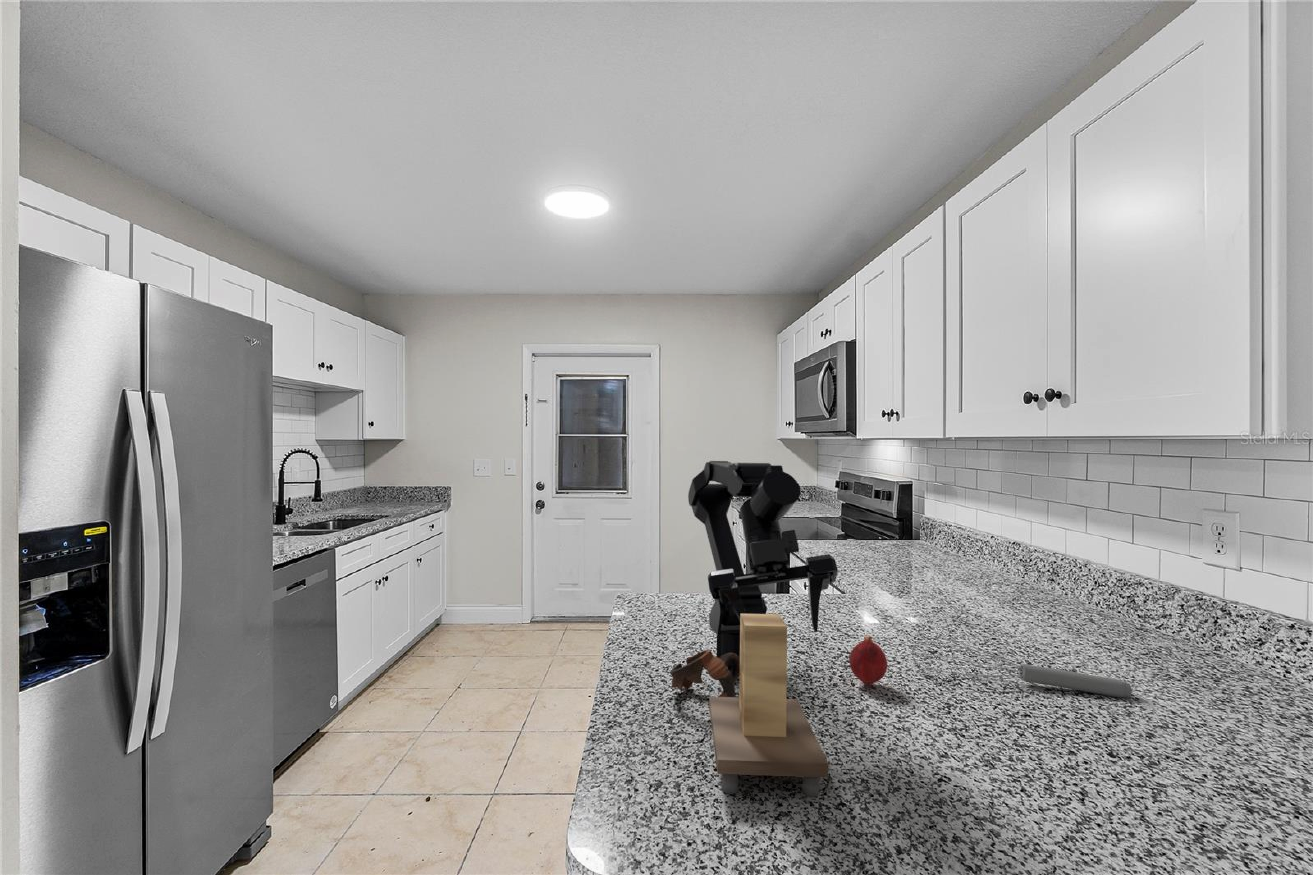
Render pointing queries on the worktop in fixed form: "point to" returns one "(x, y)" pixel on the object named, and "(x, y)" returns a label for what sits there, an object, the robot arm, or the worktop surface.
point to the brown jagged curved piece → (713, 666)
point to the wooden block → (763, 675)
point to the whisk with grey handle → (1047, 676)
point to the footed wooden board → (765, 748)
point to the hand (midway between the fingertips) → (783, 636)
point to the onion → (868, 661)
